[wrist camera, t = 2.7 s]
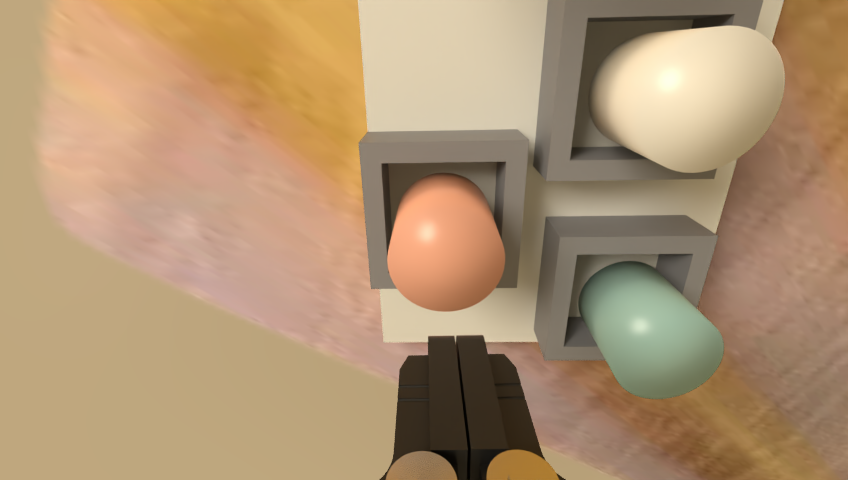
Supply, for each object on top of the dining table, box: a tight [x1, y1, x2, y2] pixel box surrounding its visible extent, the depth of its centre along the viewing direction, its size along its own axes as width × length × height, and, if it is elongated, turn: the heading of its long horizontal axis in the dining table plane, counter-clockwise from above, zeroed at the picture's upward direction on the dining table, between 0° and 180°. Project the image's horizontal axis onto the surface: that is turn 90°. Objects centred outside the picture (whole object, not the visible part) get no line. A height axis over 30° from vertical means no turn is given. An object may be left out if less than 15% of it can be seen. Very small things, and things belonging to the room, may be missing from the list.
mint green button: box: [578, 261, 724, 399], centre depth 21 cm, size 5×5×5 cm
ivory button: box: [588, 26, 785, 173], centre depth 16 cm, size 5×5×5 cm
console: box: [358, 0, 784, 360], centre depth 23 cm, size 20×22×5 cm
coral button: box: [387, 173, 505, 312], centre depth 19 cm, size 5×5×5 cm
